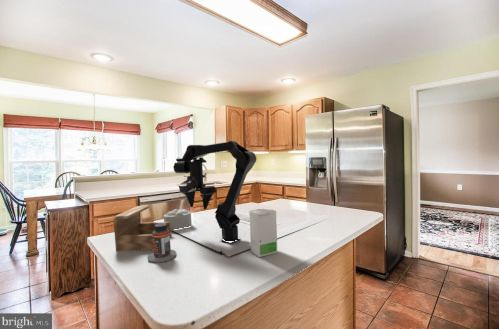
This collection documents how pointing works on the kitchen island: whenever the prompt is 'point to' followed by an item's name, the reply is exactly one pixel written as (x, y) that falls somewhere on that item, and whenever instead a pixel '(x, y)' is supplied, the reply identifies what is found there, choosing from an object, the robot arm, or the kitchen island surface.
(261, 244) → the skincare box
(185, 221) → the grey chunky block
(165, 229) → the supplement bottle
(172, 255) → the slate coaster
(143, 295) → the kitchen island surface
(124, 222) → the walnut crate
